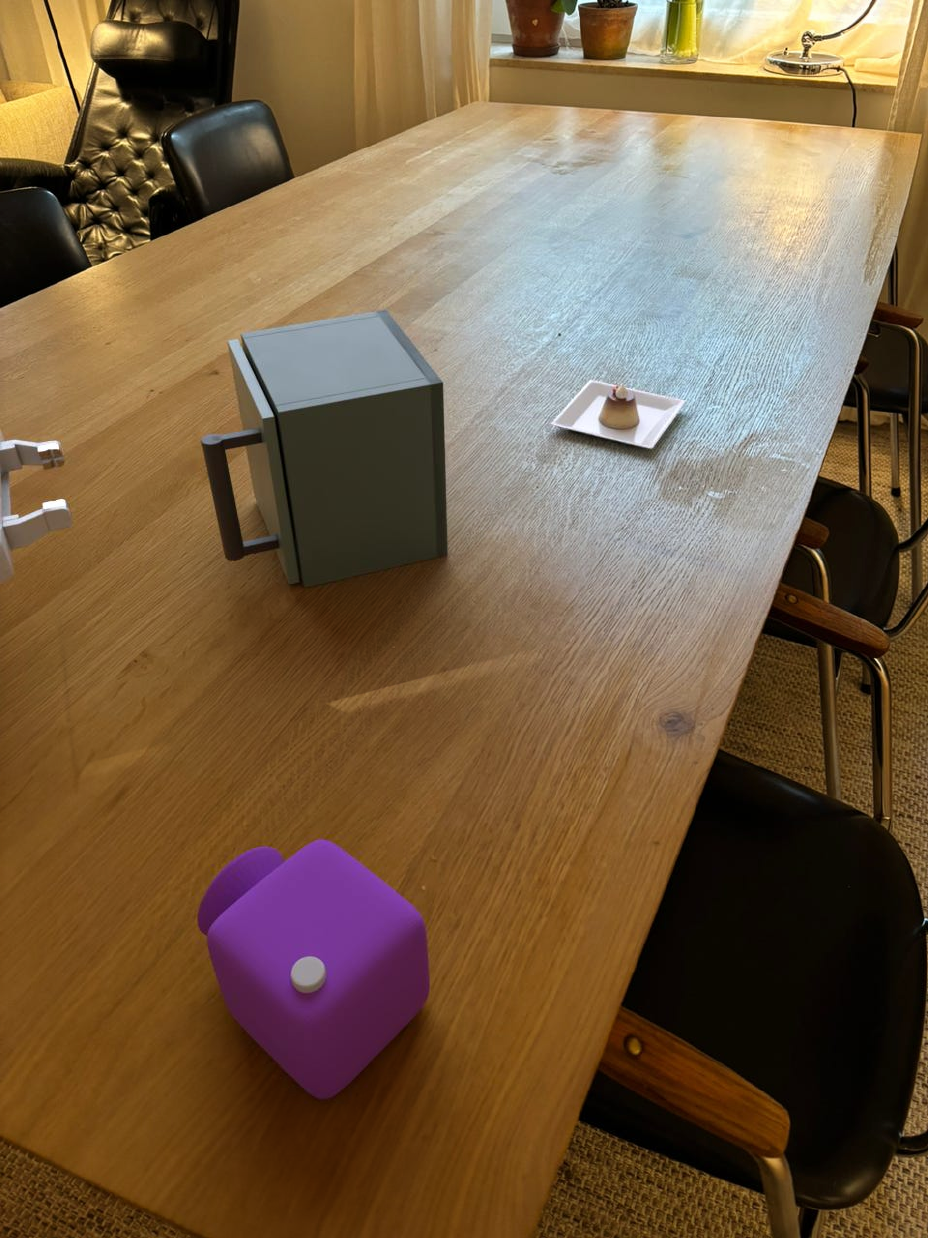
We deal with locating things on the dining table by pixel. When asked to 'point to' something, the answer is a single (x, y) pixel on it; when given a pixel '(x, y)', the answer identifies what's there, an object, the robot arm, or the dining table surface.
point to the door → (263, 470)
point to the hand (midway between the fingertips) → (66, 481)
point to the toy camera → (315, 959)
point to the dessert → (619, 414)
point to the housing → (355, 443)
